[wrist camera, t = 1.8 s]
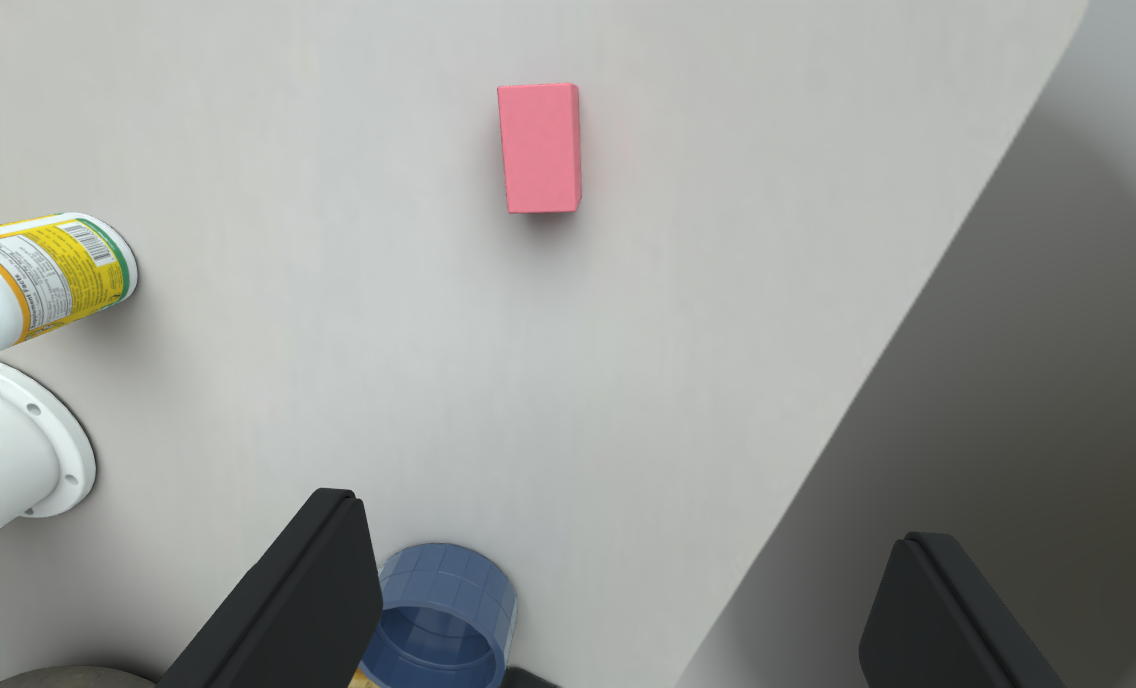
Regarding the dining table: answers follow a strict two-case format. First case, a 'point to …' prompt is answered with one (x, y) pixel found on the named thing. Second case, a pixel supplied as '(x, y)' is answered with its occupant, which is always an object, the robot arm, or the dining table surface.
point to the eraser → (541, 147)
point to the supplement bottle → (59, 273)
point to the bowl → (441, 621)
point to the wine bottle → (522, 680)
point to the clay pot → (76, 678)
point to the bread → (361, 681)
